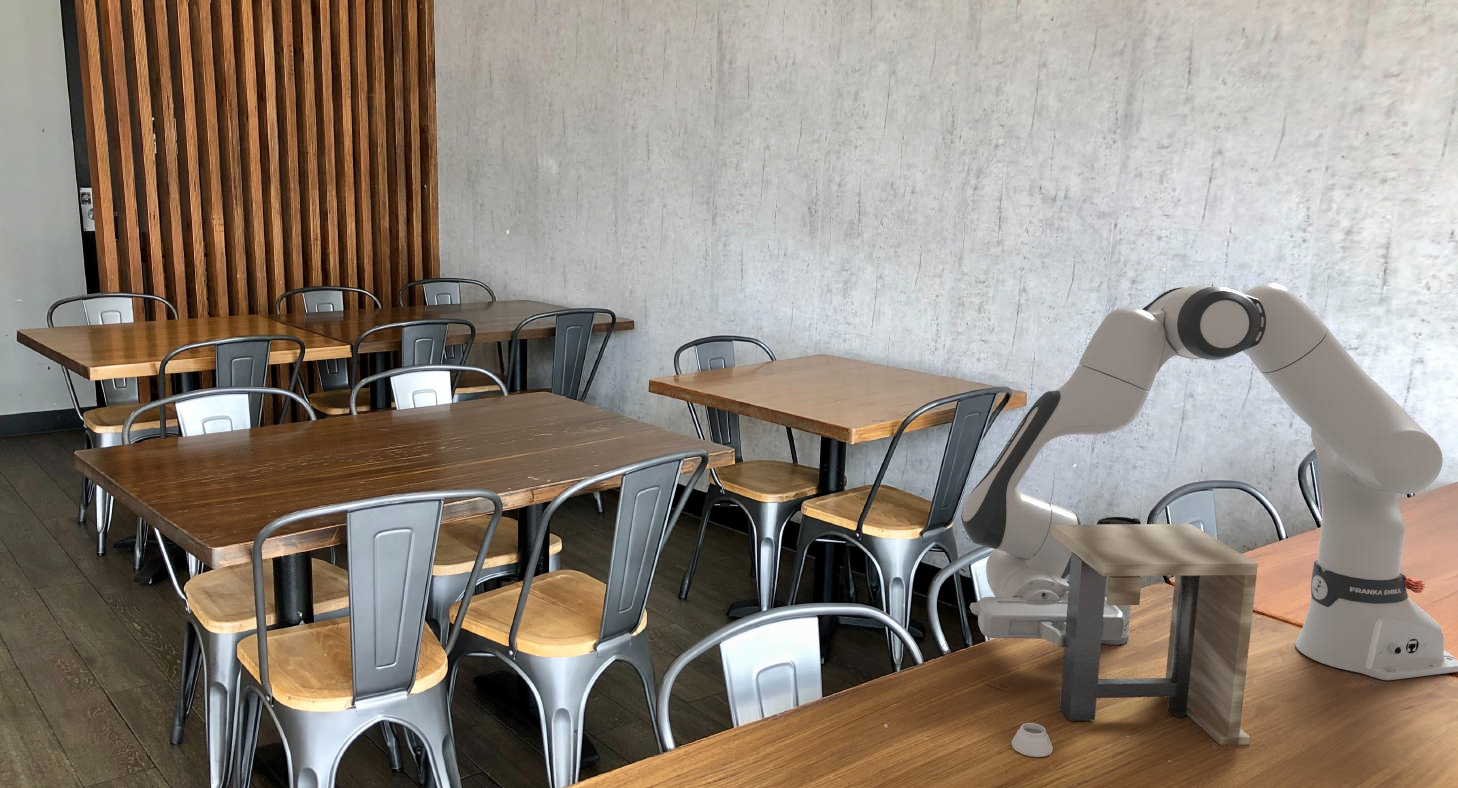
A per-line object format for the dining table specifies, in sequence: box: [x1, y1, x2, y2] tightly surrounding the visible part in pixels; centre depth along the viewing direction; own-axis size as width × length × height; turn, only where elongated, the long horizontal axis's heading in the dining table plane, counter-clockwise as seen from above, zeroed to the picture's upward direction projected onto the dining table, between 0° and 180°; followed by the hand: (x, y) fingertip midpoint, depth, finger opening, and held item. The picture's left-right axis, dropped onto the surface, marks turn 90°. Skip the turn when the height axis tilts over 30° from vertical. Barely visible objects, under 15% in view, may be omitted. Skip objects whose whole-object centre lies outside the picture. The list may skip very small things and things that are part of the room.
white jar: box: [1011, 722, 1054, 758], centre depth 136 cm, size 5×3×5 cm
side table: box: [1052, 523, 1259, 746], centre depth 144 cm, size 22×17×24 cm
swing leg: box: [1059, 552, 1200, 722], centre depth 144 cm, size 17×4×22 cm, turn 94°
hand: (1067, 642), depth 146 cm, fingers closed
